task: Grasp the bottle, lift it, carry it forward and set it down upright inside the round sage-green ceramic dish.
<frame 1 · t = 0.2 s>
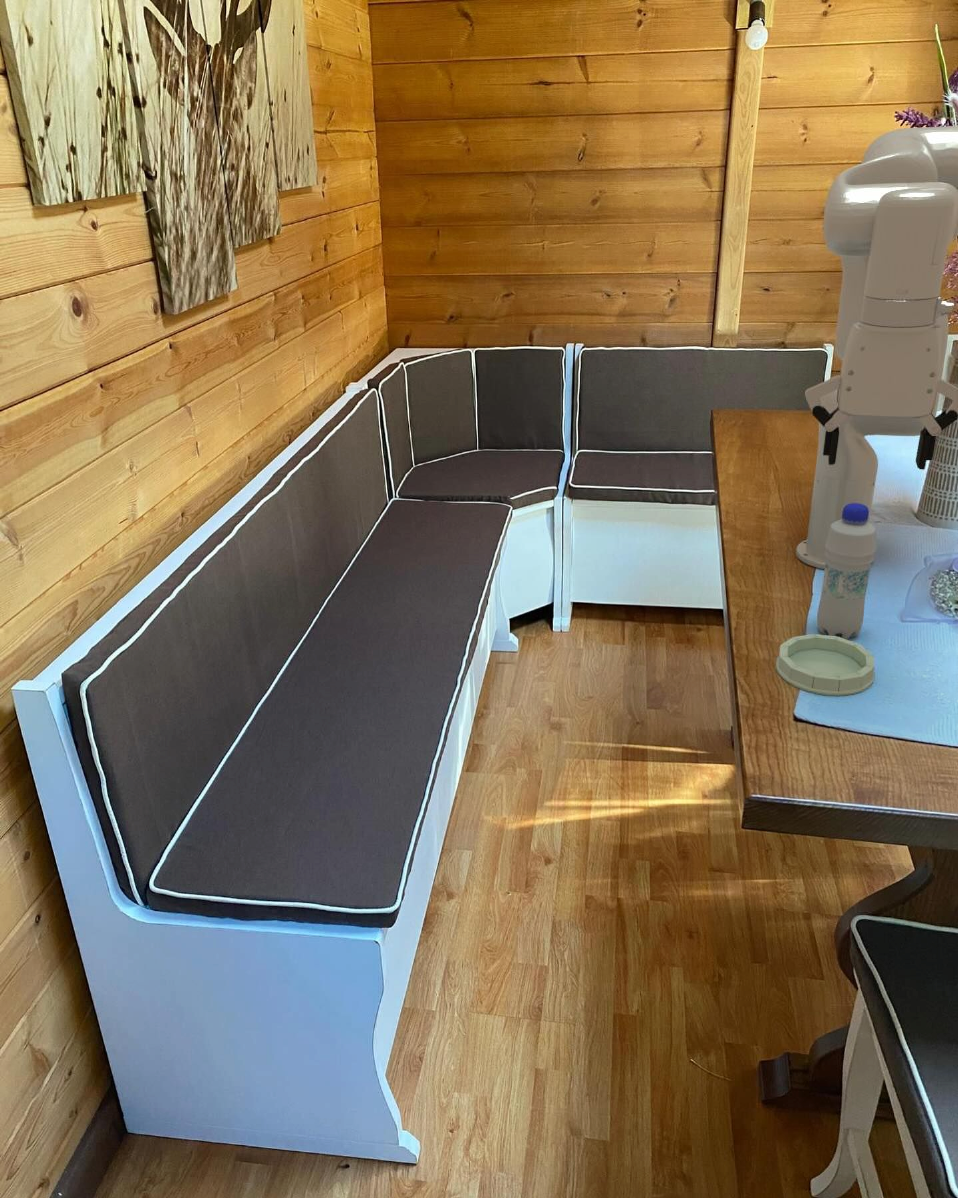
hand: (875, 463, 105), 31 cm above the table, fingers open, 9 cm apart
dish: (824, 671, 123), on the table
bottle: (837, 633, 132), on the table
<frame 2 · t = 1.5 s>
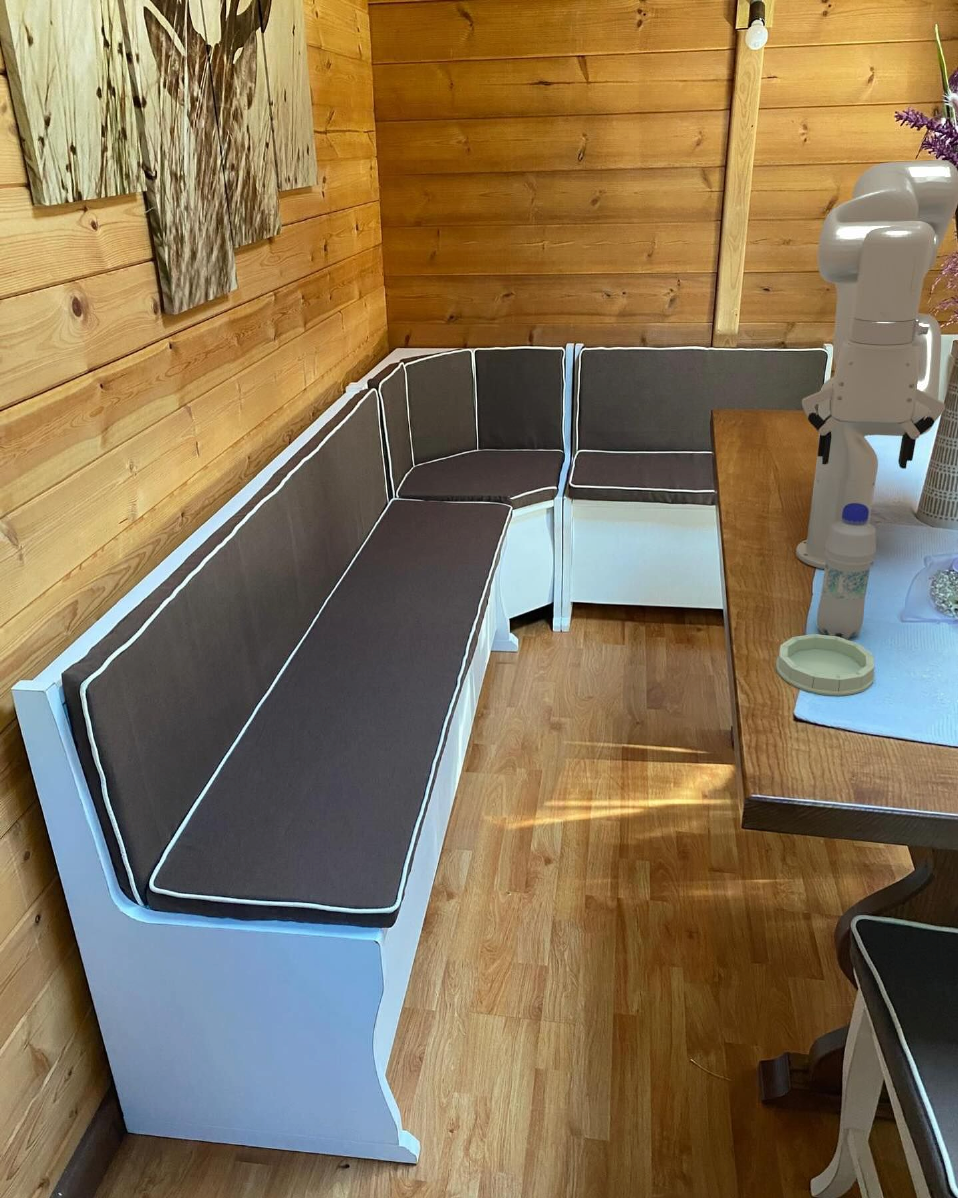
hand: (862, 463, 121), 26 cm above the table, fingers open, 9 cm apart
nothing on the table moved.
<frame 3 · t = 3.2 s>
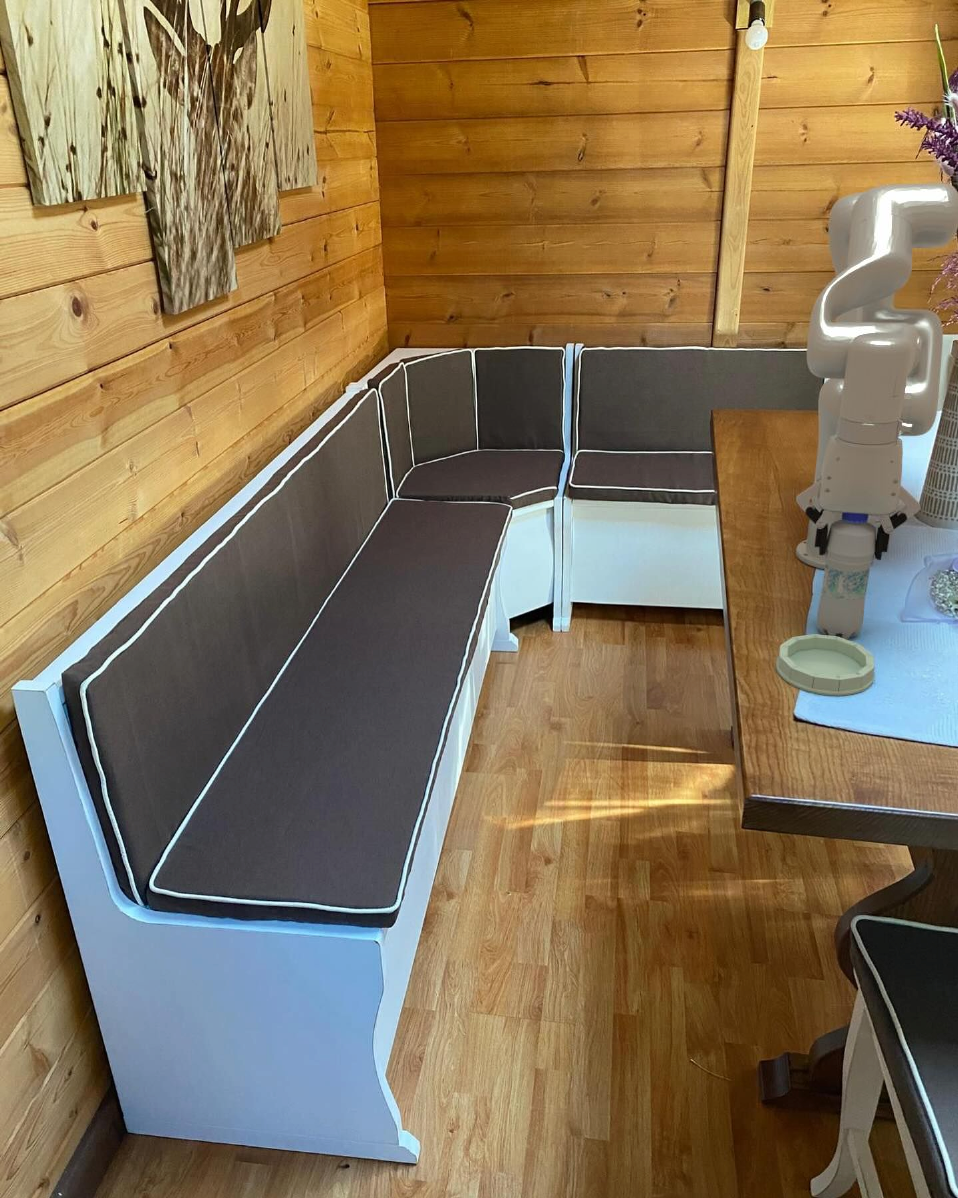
hand: (849, 552, 127), 13 cm above the table, fingers closed on bottle, 6 cm apart
bottle: (837, 633, 132), on the table, touching gripper
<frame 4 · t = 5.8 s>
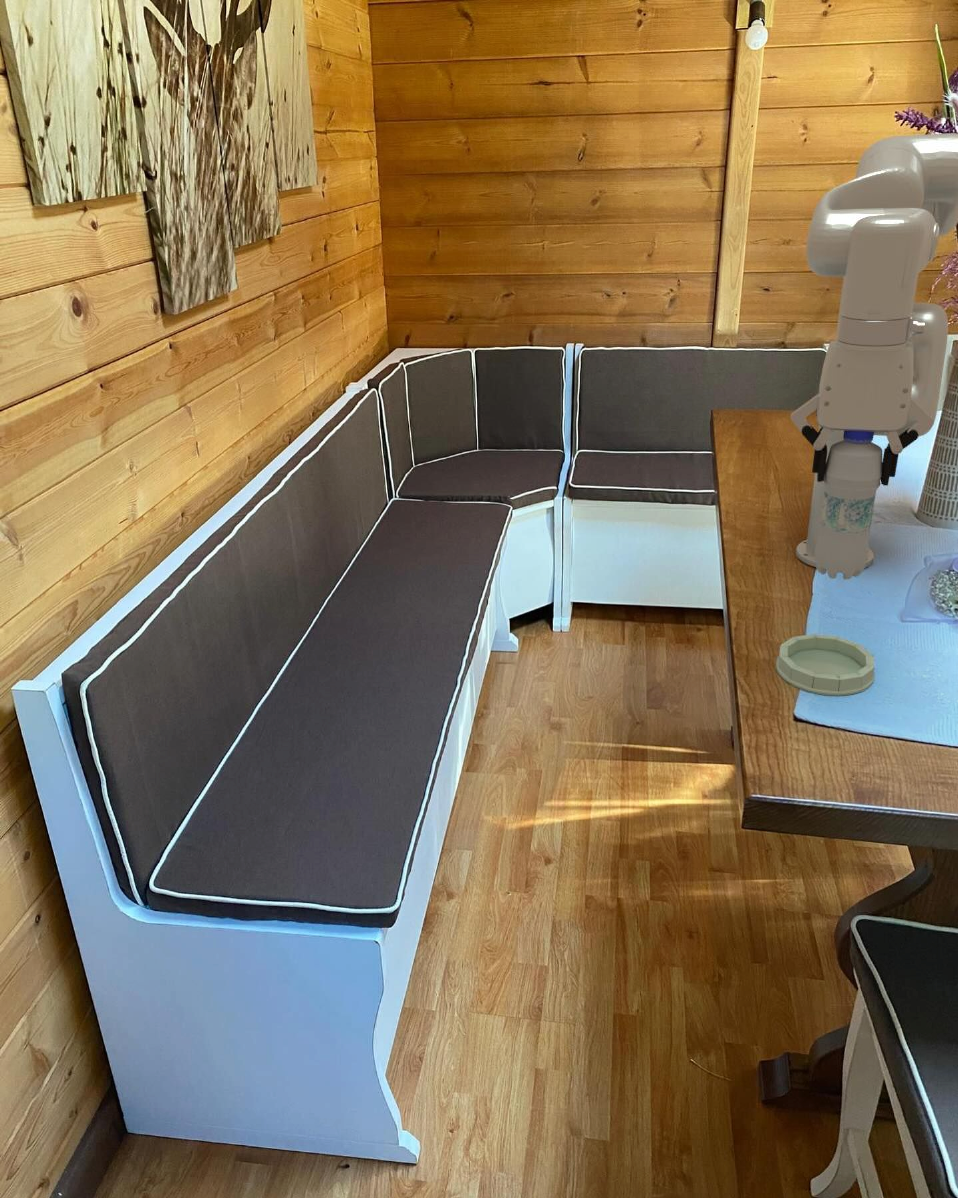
hand: (851, 478, 111), 28 cm above the table, fingers closed on bottle, 6 cm apart
bottle: (838, 573, 116), point 15 cm above the table, touching gripper
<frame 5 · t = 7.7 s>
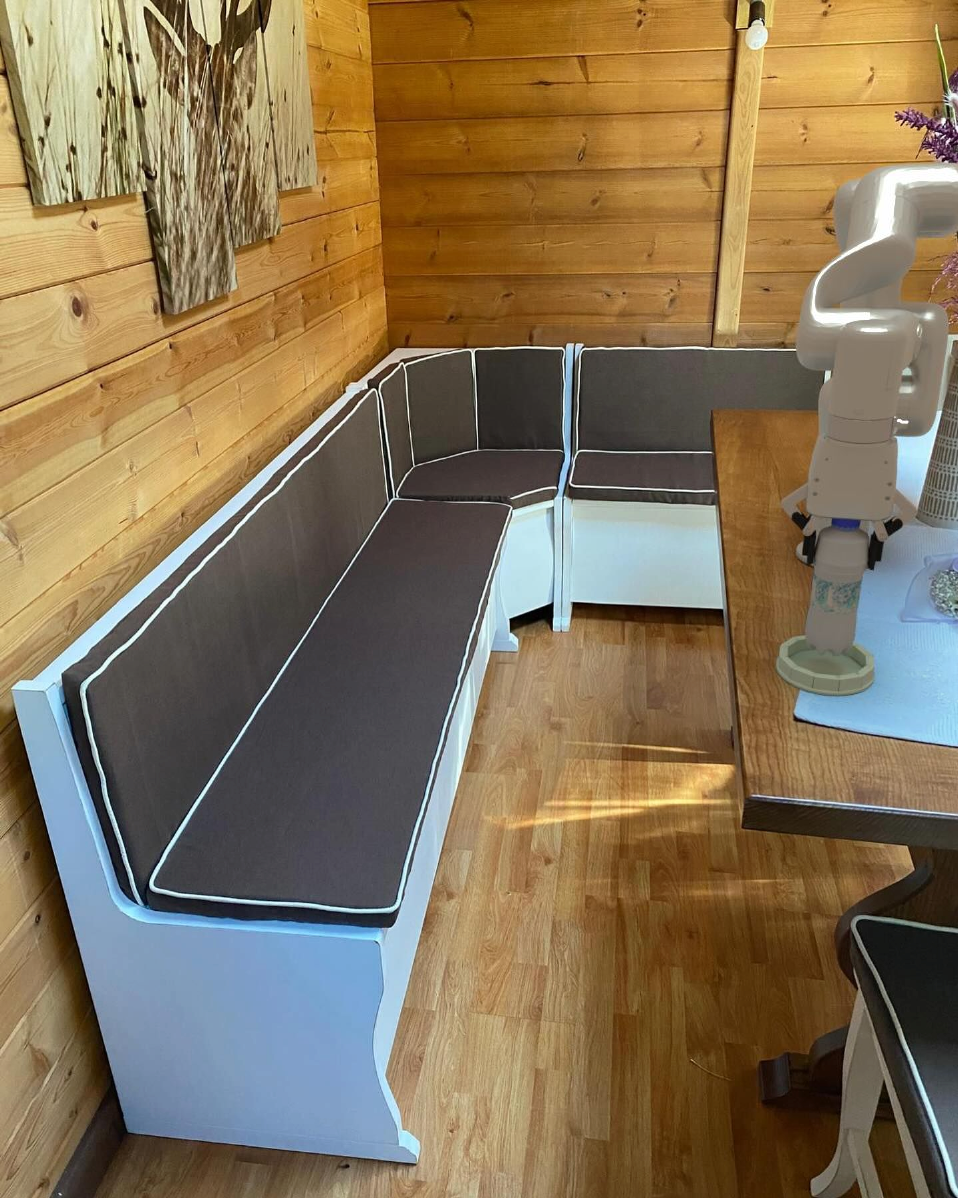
hand: (839, 562, 116), 16 cm above the table, fingers closed on bottle, 6 cm apart
bottle: (827, 649, 121), point 3 cm above the table, touching gripper
when the fingers open (14 cm above the table, at t = 8.8 s): bottle stays where it is, resting on dish.
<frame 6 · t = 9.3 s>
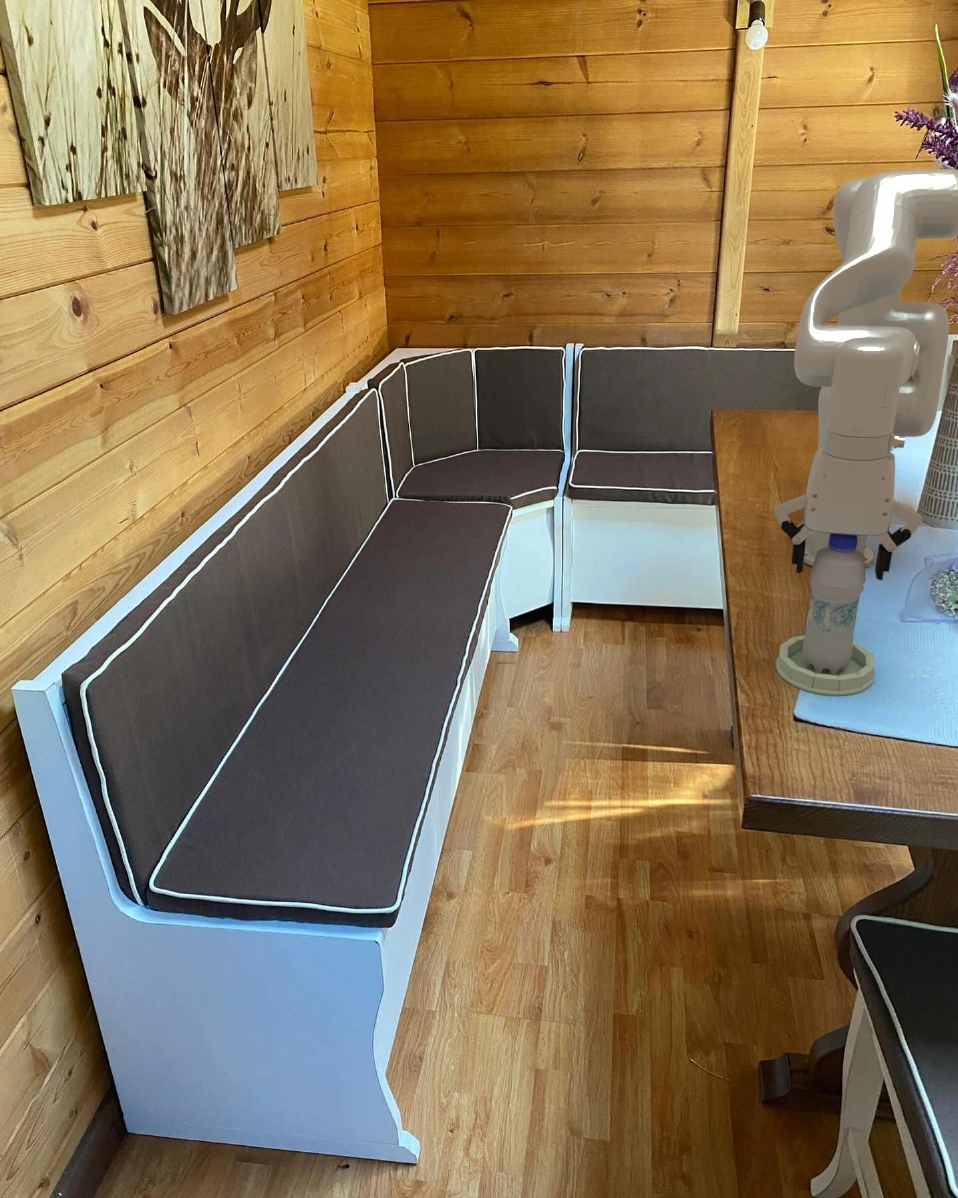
hand: (838, 572, 116), 15 cm above the table, fingers open, 9 cm apart
bottle: (824, 667, 123), resting on dish
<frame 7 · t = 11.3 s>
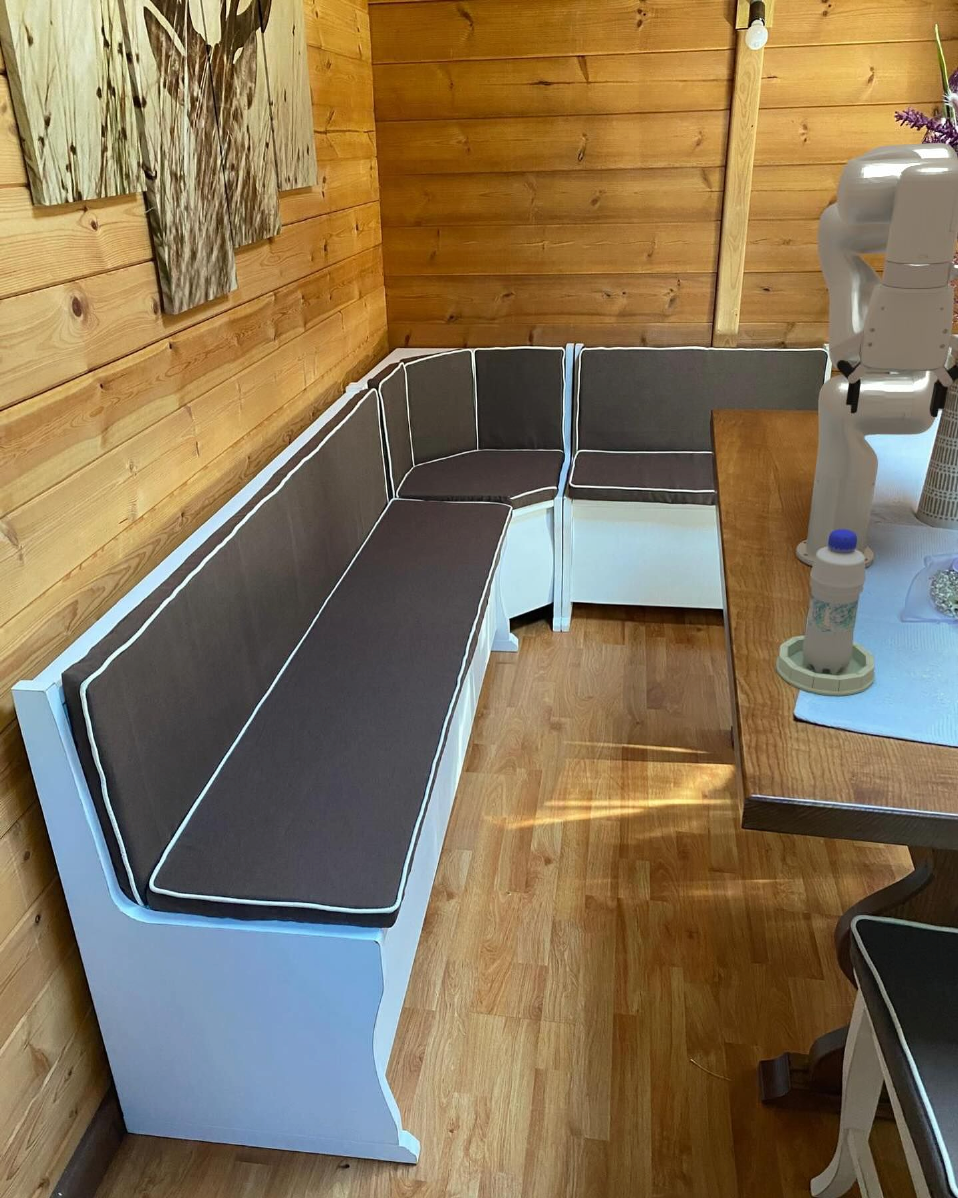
hand: (892, 412, 118), 33 cm above the table, fingers open, 9 cm apart
nothing on the table moved.
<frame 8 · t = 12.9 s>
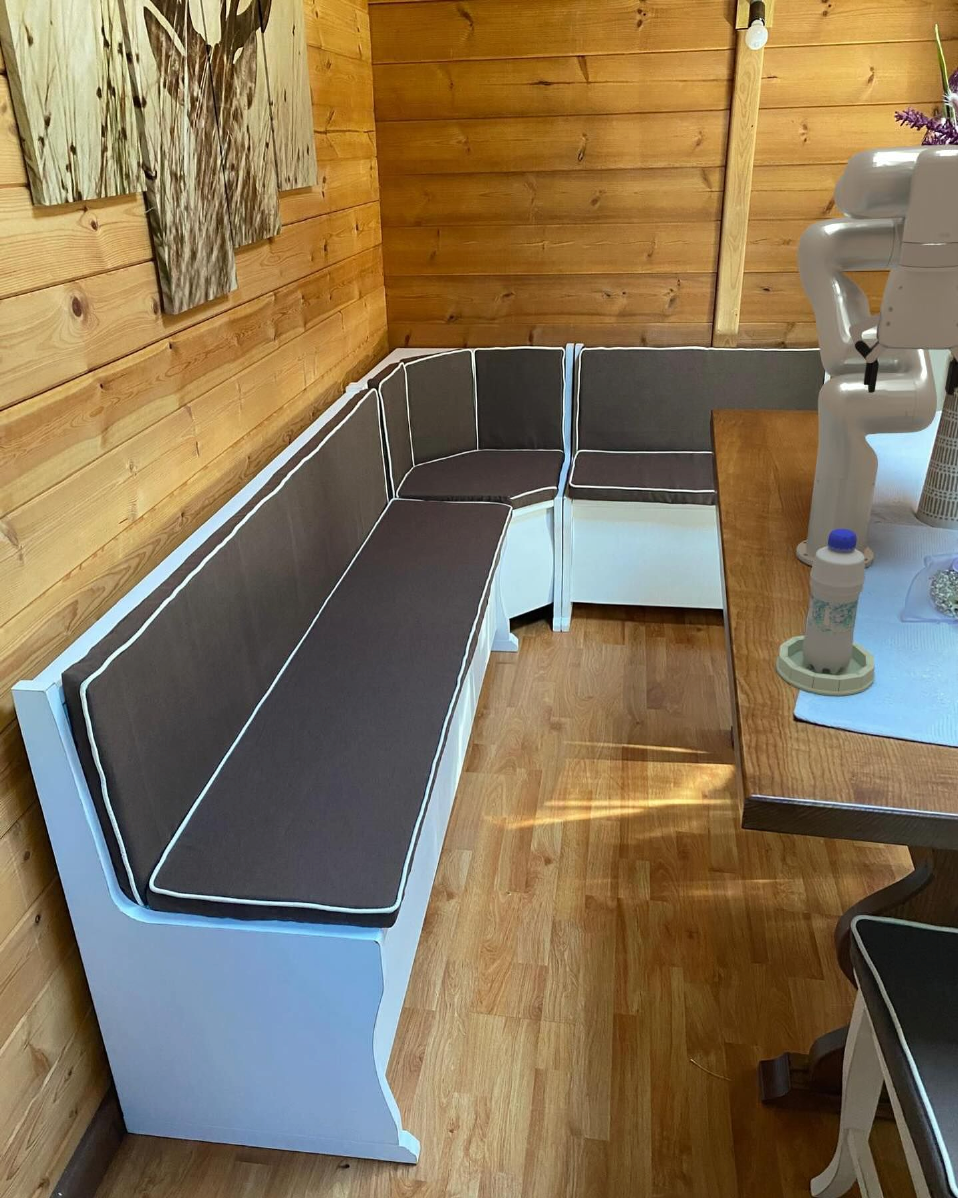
hand: (909, 391, 121), 34 cm above the table, fingers open, 9 cm apart
nothing on the table moved.
at the end: bottle 0.2 cm off-centre on the dish, point 0.4 cm above the dish's base; bottle tilted 0°; the gripper is holding nothing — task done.
